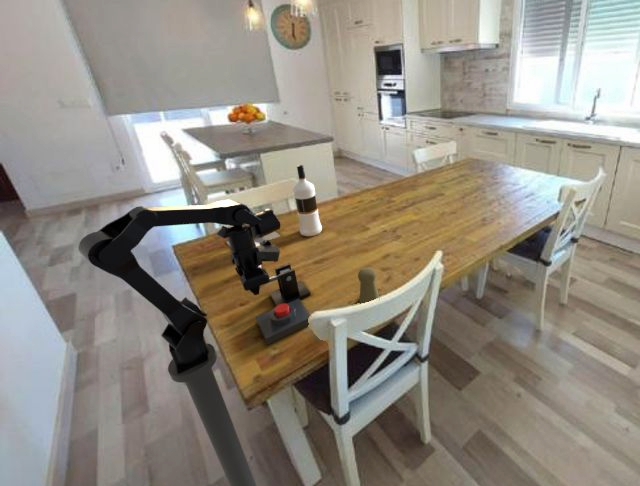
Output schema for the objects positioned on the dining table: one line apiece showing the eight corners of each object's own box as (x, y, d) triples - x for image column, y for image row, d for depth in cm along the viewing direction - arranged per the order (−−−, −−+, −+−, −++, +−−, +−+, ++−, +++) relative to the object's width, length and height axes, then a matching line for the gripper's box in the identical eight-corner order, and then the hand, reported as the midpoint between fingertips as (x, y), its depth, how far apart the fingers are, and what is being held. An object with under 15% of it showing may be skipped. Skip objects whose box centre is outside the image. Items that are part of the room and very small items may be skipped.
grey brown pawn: (360, 309, 94) (357, 278, 90) (358, 296, 99) (355, 266, 95) (380, 305, 95) (378, 274, 91) (377, 292, 101) (375, 263, 96)
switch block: (267, 344, 82) (264, 333, 81) (257, 322, 89) (254, 311, 88) (312, 323, 89) (310, 311, 87) (300, 304, 96) (298, 293, 95)
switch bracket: (277, 309, 94) (271, 282, 90) (270, 295, 100) (263, 269, 96) (310, 295, 100) (305, 269, 96) (301, 283, 106) (296, 257, 102)
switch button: (277, 319, 86) (276, 314, 85) (274, 312, 88) (272, 307, 87) (291, 313, 88) (290, 308, 87) (287, 306, 90) (286, 301, 89)
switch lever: (249, 294, 90) (247, 285, 89) (247, 289, 93) (245, 279, 91) (292, 279, 97) (291, 270, 96) (289, 274, 99) (287, 265, 98)
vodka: (299, 238, 134) (286, 169, 122) (301, 228, 142) (289, 163, 130) (322, 235, 136) (311, 167, 124) (322, 226, 144) (312, 161, 132)
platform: (280, 235, 136) (278, 222, 134) (235, 252, 124) (231, 237, 122) (269, 227, 144) (266, 214, 141) (225, 241, 132) (221, 227, 130)
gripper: (284, 248, 84) (294, 296, 90) (264, 224, 98) (275, 267, 104) (237, 264, 78) (251, 314, 84) (223, 235, 92) (237, 280, 98)
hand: (255, 291), depth 93 cm, fingers closed on switch lever, 3 cm apart
